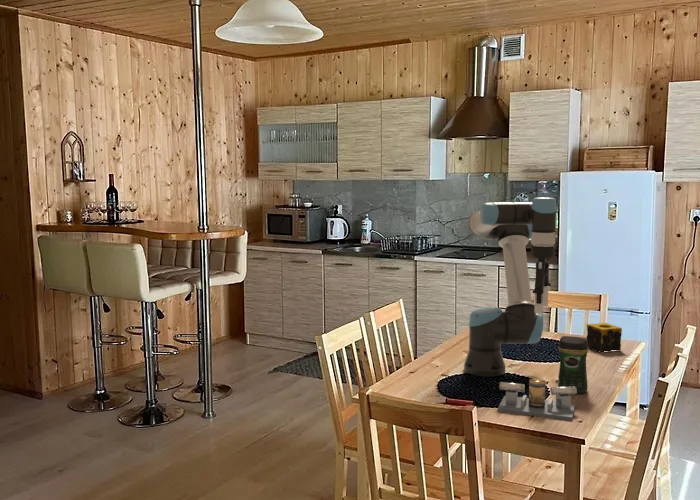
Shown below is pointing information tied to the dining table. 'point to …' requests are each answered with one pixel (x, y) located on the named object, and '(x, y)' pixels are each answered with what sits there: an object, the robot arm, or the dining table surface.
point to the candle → (604, 337)
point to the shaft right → (563, 396)
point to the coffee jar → (573, 363)
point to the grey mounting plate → (537, 409)
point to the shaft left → (511, 391)
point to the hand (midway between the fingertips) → (541, 309)
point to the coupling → (537, 393)
